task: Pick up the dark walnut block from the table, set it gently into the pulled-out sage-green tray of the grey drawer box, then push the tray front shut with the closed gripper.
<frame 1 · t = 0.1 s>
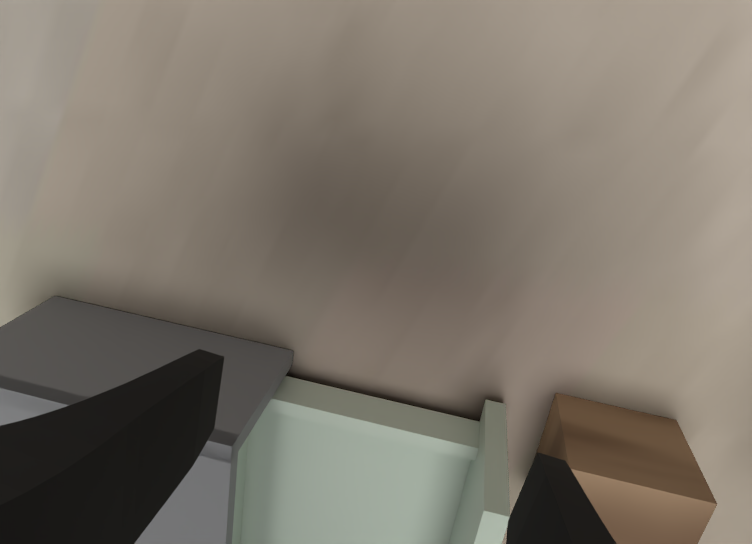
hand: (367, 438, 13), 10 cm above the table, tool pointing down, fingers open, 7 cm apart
walnut block: (597, 451, 23), on the table
grey drawer box: (179, 470, 28), on the table
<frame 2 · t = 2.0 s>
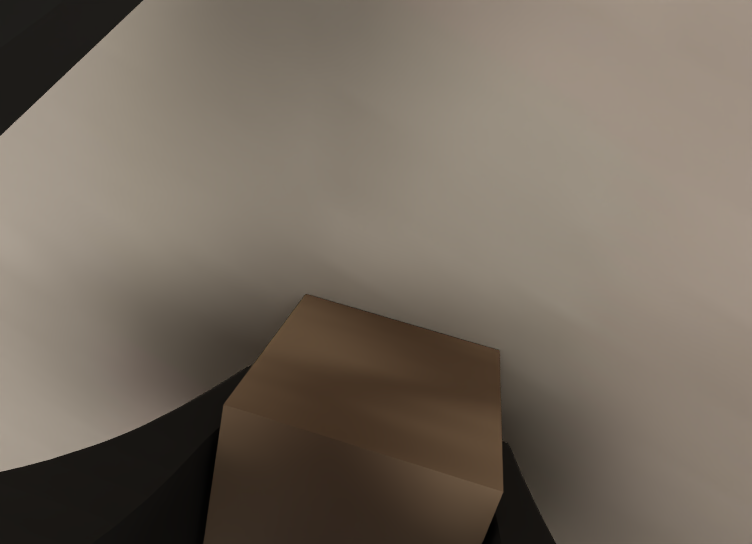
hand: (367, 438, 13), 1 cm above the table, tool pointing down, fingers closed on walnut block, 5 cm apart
walnut block: (378, 402, 14), on the table, touching gripper
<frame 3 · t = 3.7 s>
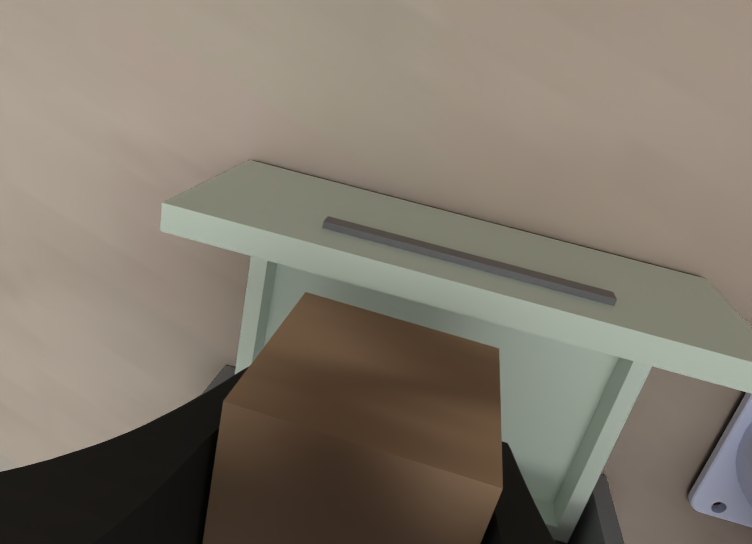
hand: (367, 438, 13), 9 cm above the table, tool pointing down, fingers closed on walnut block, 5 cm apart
walnut block: (378, 400, 14), point 8 cm above the table, touching gripper
grey drawer box: (384, 508, 26), on the table
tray: (423, 392, 19), point 3 cm above the table, slide at 8.0 cm
when the fingers open (3 cm above the table, at t = 5.6 s): walnut block stays where it is, resting on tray.
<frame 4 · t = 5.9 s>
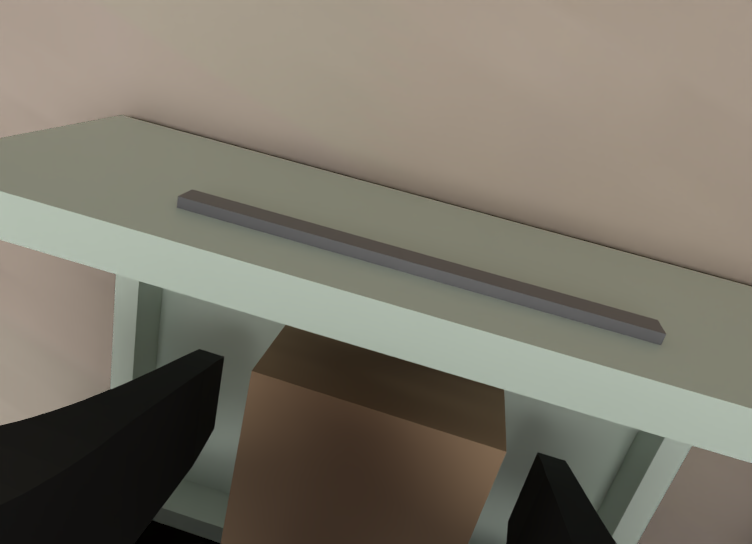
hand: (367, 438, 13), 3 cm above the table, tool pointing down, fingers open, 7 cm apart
walnut block: (387, 380, 15), point 1 cm above the table, touching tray
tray: (361, 459, 13), point 3 cm above the table, slide at 8.0 cm, touching walnut block
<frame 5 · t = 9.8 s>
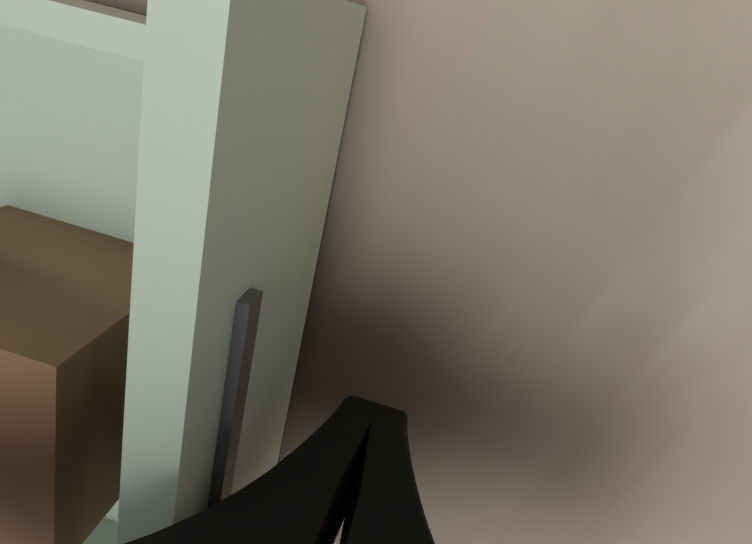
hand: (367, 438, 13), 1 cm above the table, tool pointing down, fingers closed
walnut block: (97, 321, 14), point 1 cm above the table, touching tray
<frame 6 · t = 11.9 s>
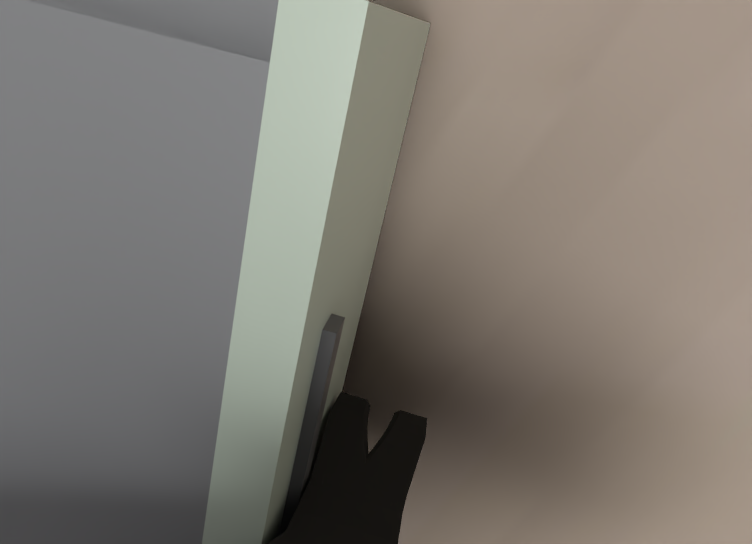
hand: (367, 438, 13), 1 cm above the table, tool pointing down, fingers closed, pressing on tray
grey drawer box: (124, 310, 14), on the table
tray: (48, 387, 11), point 3 cm above the table, slide at -0.1 cm, touching gripper, grey drawer box, walnut block
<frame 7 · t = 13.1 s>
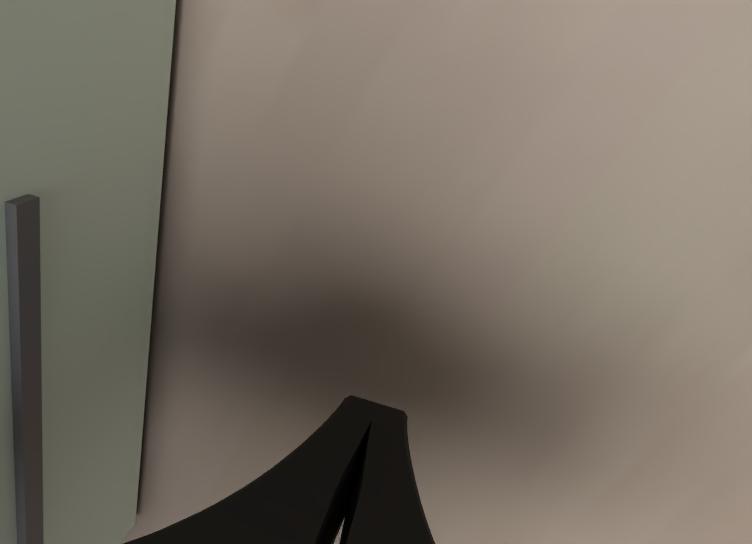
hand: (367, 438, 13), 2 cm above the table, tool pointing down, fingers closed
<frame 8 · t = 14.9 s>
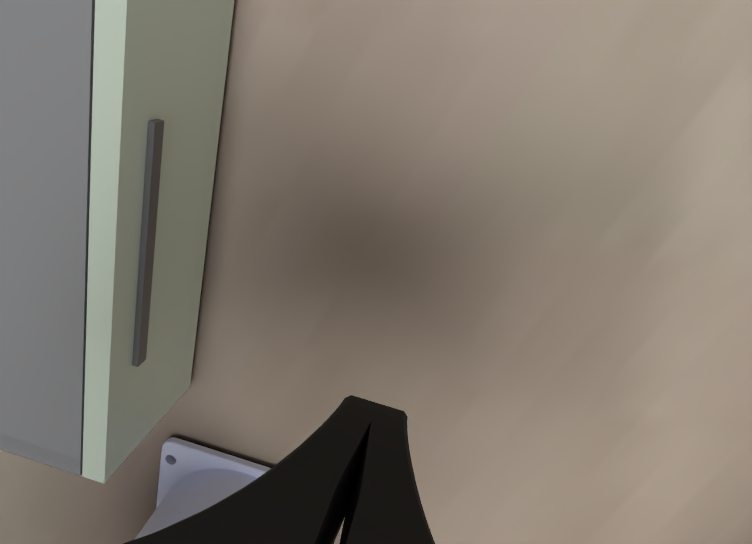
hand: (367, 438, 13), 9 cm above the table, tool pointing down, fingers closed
grey drawer box: (71, 169, 22), on the table
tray: (20, 193, 19), point 3 cm above the table, slide at 0.0 cm, touching walnut block
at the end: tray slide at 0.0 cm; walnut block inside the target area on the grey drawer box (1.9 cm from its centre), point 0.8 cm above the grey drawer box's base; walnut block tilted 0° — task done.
